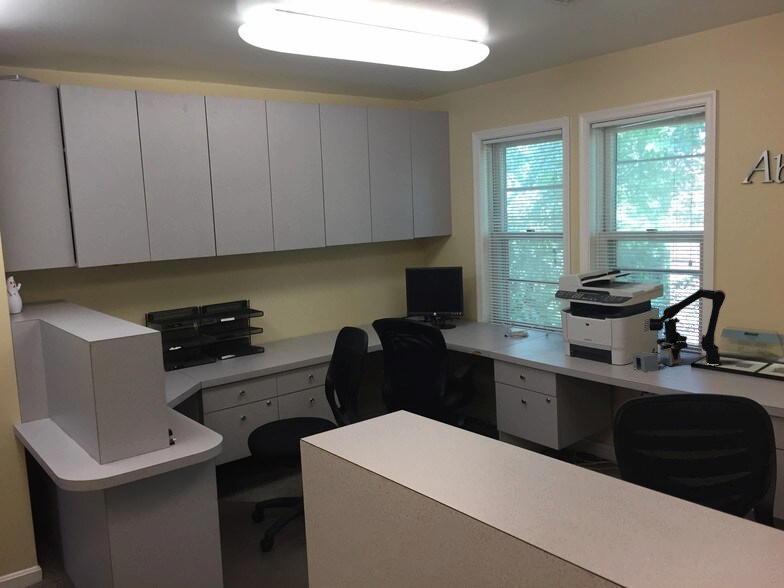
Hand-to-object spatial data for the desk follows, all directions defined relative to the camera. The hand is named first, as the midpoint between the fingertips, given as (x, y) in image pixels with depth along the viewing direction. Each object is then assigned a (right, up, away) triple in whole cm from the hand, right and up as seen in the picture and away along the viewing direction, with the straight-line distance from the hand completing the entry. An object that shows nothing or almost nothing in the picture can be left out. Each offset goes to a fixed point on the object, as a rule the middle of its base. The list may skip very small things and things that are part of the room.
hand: (672, 359), depth 344 cm
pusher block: (0, -2, 0) cm, 2 cm away
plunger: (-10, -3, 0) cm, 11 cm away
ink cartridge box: (+2, 0, +33) cm, 33 cm away
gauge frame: (-11, -4, -1) cm, 12 cm away
